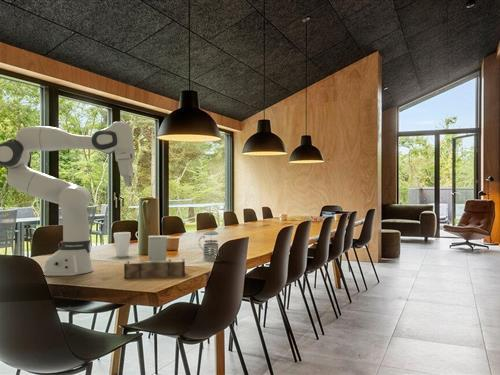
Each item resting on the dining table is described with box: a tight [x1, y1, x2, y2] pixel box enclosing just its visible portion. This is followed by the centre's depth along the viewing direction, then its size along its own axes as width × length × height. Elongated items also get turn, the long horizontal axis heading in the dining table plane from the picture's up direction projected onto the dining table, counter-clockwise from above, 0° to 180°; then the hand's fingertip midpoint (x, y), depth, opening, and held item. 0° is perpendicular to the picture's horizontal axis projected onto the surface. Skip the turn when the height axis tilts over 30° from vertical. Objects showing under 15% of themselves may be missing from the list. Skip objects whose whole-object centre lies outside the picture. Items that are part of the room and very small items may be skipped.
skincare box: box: [147, 235, 167, 261], centre depth 198 cm, size 8×7×16 cm
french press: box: [198, 212, 220, 262], centre depth 227 cm, size 10×12×25 cm
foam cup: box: [113, 231, 132, 258], centre depth 242 cm, size 10×9×13 cm
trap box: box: [123, 258, 186, 279], centre depth 184 cm, size 25×9×7 cm, turn 99°
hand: (128, 186), depth 197 cm, fingers open, 8 cm apart
